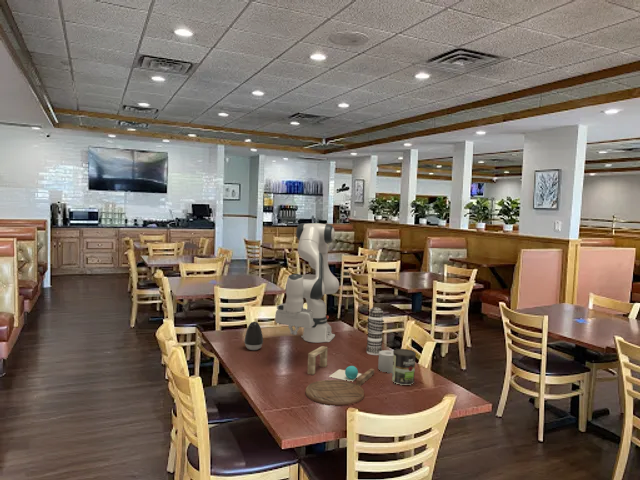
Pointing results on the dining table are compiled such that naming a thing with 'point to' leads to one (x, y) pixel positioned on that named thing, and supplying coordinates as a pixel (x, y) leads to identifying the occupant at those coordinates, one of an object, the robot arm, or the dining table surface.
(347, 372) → the ball
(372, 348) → the leaning tower model
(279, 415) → the dining table surface
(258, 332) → the speaker
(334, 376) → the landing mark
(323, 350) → the bridge
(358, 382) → the stopper wall
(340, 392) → the trivet
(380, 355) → the toilet tissue
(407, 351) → the coffee can
